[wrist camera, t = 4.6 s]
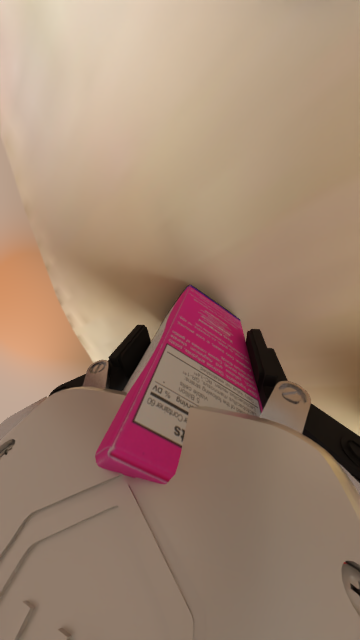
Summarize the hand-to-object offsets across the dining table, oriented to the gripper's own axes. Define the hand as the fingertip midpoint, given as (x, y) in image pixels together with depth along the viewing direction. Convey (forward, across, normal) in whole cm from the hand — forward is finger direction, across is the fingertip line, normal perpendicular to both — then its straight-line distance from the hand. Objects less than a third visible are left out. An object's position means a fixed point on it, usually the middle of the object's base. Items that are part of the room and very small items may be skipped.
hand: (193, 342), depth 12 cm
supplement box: (+3, 0, 0) cm, 3 cm away
